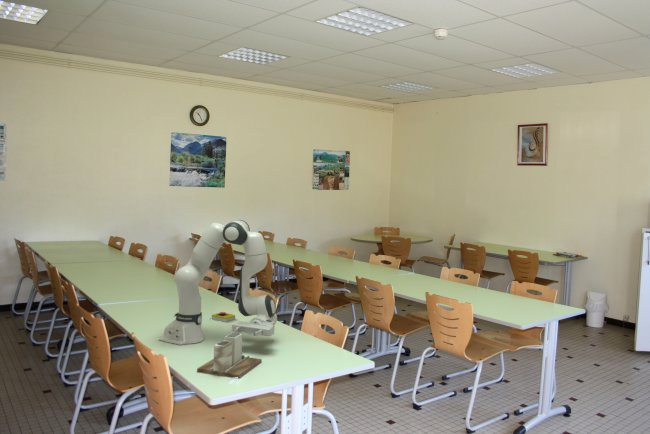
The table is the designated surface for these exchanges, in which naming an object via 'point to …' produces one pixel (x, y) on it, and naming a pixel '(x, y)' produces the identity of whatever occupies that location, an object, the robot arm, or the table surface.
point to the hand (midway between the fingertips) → (245, 332)
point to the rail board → (234, 371)
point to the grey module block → (235, 346)
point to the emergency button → (224, 317)
